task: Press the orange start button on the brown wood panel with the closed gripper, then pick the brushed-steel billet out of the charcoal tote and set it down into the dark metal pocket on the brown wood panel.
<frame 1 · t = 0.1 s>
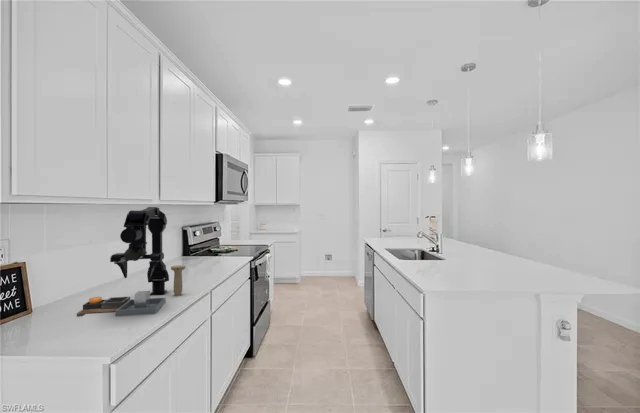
hand: (137, 277, 127), 15 cm above the countertop, tool pointing down, fingers open, 9 cm apart
brown wood panel: (107, 308, 131), on the countertop
handle: (177, 297, 149), on the countertop
billet: (142, 308, 129), point 1 cm above the countertop, touching tote
start button: (95, 300, 130), point 4 cm above the countertop, slide at 0.0 cm
tote: (142, 310, 129), on the countertop
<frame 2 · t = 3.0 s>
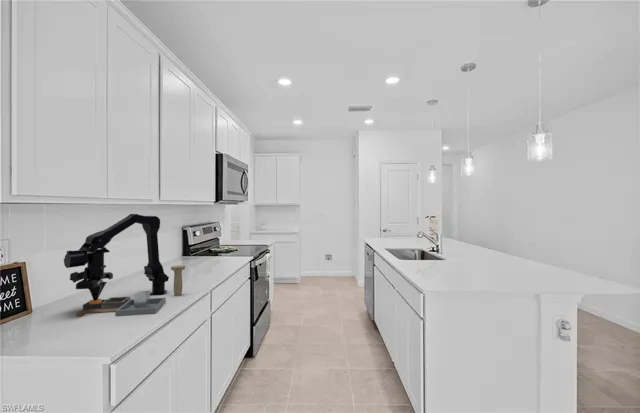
hand: (95, 300, 130), 4 cm above the countertop, tool pointing down, fingers closed, pressing on start button
start button: (95, 303, 130), point 3 cm above the countertop, slide at 0.9 cm, touching gripper
everything else where it was.
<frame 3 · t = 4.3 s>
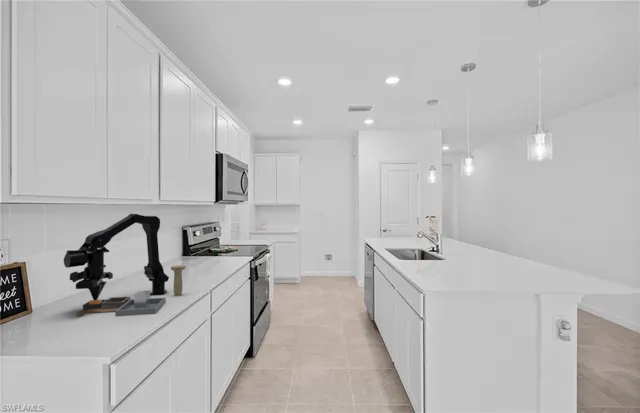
hand: (95, 300, 130), 4 cm above the countertop, tool pointing down, fingers closed
start button: (95, 303, 130), point 2 cm above the countertop, slide at 1.3 cm
everything else where it was.
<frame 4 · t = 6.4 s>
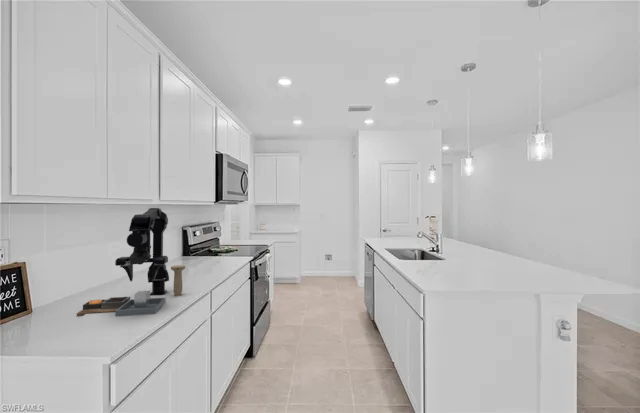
hand: (142, 280, 129), 13 cm above the countertop, tool pointing down, fingers open, 8 cm apart
nothing on the countertop moved.
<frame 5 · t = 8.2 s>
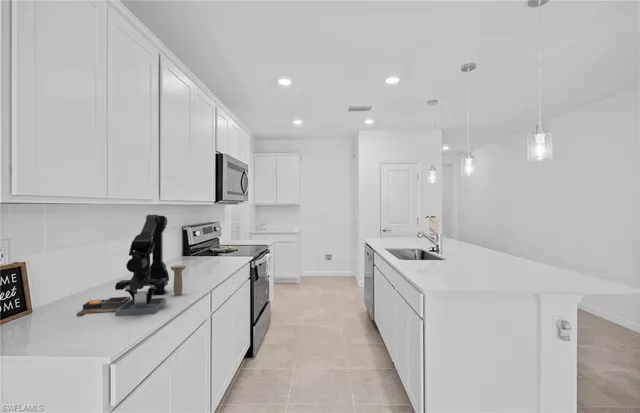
hand: (142, 304, 129), 3 cm above the countertop, tool pointing down, fingers closed on billet, 4 cm apart
billet: (142, 308, 129), point 1 cm above the countertop, touching gripper, tote
everything else where it was.
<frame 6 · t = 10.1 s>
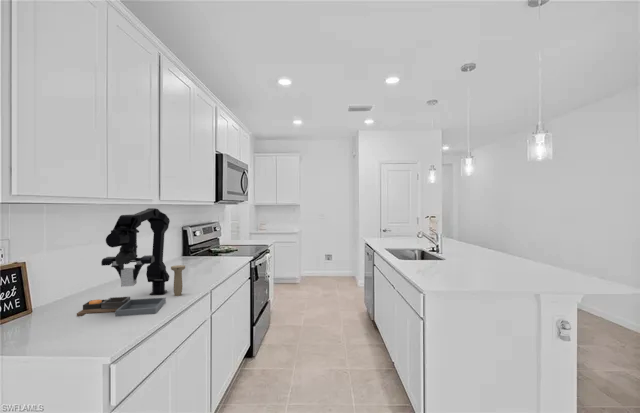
hand: (128, 280, 130), 13 cm above the countertop, tool pointing down, fingers closed on billet, 4 cm apart
billet: (128, 284, 130), point 11 cm above the countertop, touching gripper
everything else where it was.
when the fingers open (5 cm above the countertop, at t = 12.3 s): billet drops 1 cm, resting on brown wood panel.
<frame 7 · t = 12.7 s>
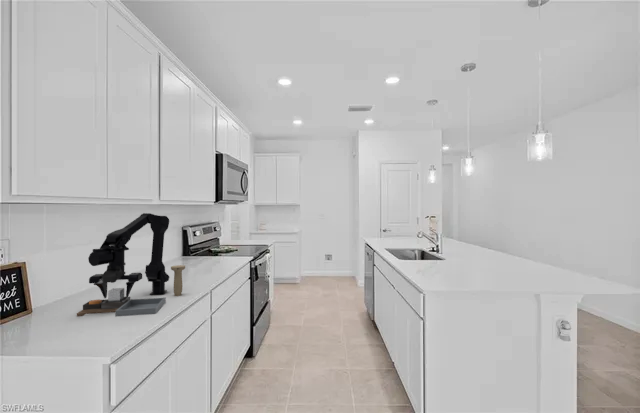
hand: (116, 297, 132), 5 cm above the countertop, tool pointing down, fingers open, 8 cm apart
billet: (116, 305, 132), point 1 cm above the countertop, touching brown wood panel
everything else where it was.
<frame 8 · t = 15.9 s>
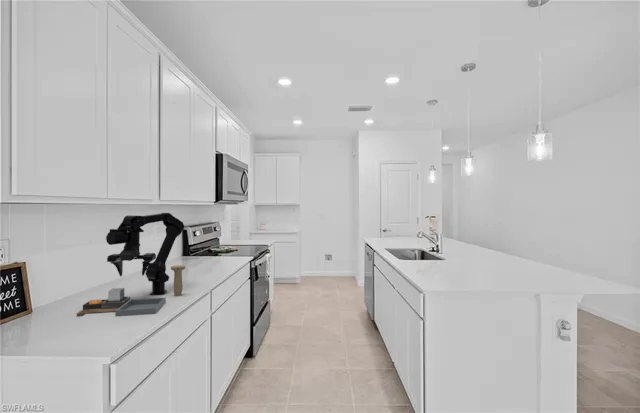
hand: (132, 275, 141), 12 cm above the countertop, tool pointing down, fingers open, 9 cm apart
nothing on the countertop moved.
at the end: start button slide at 1.3 cm; billet 0.0 cm from the target spot, point 1.2 cm above the countertop; billet tilted 0° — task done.
